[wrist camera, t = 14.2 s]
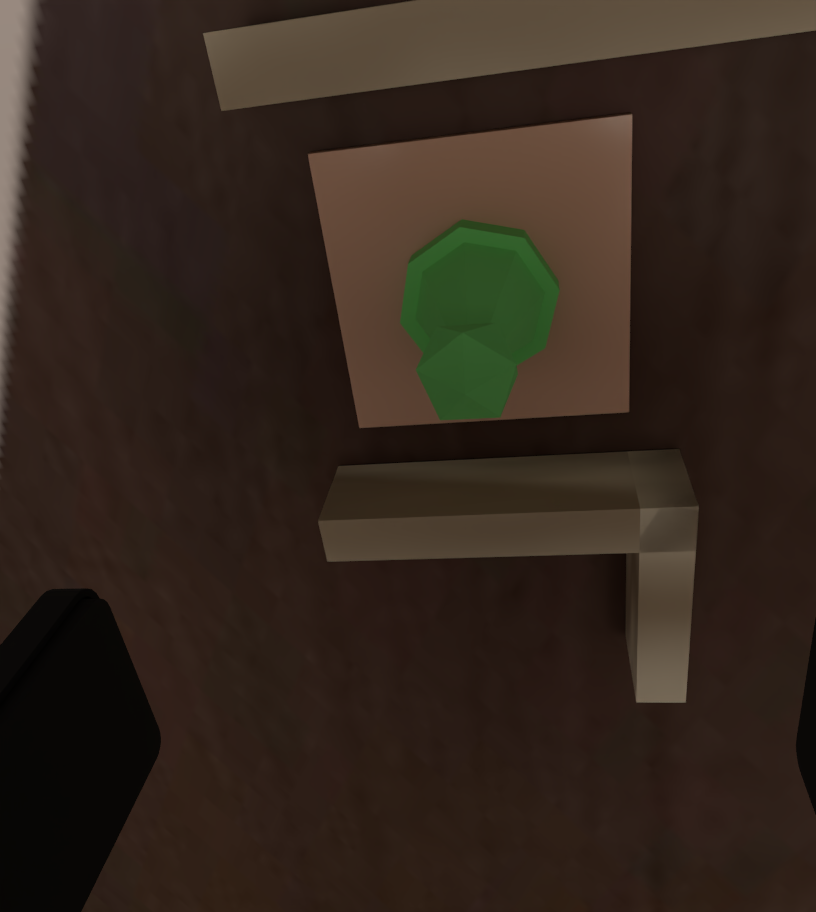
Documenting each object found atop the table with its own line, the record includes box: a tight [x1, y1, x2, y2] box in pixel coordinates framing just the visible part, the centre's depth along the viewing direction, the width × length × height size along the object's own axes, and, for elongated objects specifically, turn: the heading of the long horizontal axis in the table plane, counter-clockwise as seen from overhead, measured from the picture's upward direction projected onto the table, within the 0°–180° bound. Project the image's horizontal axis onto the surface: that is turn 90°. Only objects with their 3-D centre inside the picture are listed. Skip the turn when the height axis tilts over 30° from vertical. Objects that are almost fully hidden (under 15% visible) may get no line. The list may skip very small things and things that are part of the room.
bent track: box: [203, 0, 816, 703], centre depth 21 cm, size 20×23×3 cm
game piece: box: [400, 219, 560, 420], centre depth 19 cm, size 4×4×6 cm
